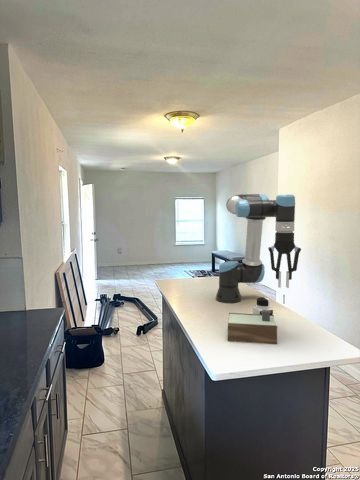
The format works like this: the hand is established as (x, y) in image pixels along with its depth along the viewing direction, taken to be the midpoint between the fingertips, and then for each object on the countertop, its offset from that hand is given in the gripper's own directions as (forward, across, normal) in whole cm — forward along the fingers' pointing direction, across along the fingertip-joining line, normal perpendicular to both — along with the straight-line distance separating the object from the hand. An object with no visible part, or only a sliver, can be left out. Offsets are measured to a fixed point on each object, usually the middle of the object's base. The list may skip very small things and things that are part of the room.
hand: (283, 286), depth 137 cm
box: (+23, -13, 0) cm, 26 cm away
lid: (+16, -13, 0) cm, 21 cm away
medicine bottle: (+23, -7, +19) cm, 30 cm away
